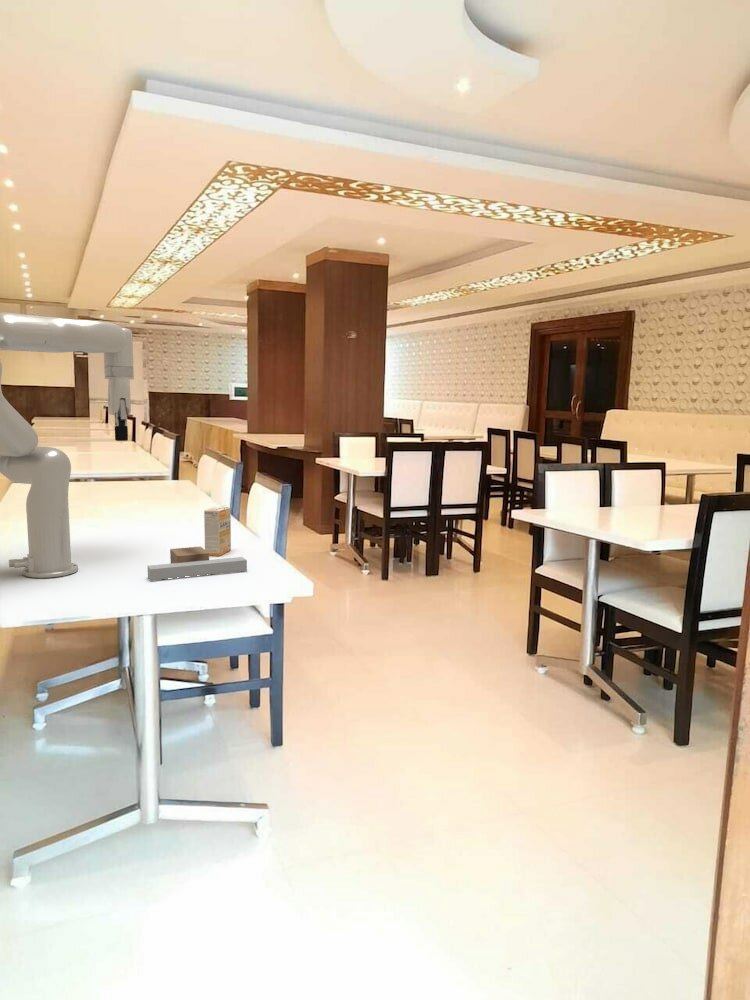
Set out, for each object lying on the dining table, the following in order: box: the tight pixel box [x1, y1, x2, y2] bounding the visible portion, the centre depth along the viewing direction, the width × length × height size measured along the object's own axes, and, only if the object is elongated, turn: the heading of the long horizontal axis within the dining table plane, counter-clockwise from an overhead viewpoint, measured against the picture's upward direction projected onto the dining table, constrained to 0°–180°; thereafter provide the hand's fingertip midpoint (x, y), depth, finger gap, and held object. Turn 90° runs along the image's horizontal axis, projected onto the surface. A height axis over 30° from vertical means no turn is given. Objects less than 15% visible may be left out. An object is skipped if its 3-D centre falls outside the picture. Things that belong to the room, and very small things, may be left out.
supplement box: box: [203, 506, 232, 557], centre depth 197 cm, size 8×5×13 cm, turn 168°
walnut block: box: [169, 545, 210, 564], centre depth 179 cm, size 8×9×5 cm
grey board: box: [147, 556, 248, 582], centre depth 173 cm, size 24×4×3 cm, turn 118°
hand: (121, 440), depth 191 cm, fingers closed
